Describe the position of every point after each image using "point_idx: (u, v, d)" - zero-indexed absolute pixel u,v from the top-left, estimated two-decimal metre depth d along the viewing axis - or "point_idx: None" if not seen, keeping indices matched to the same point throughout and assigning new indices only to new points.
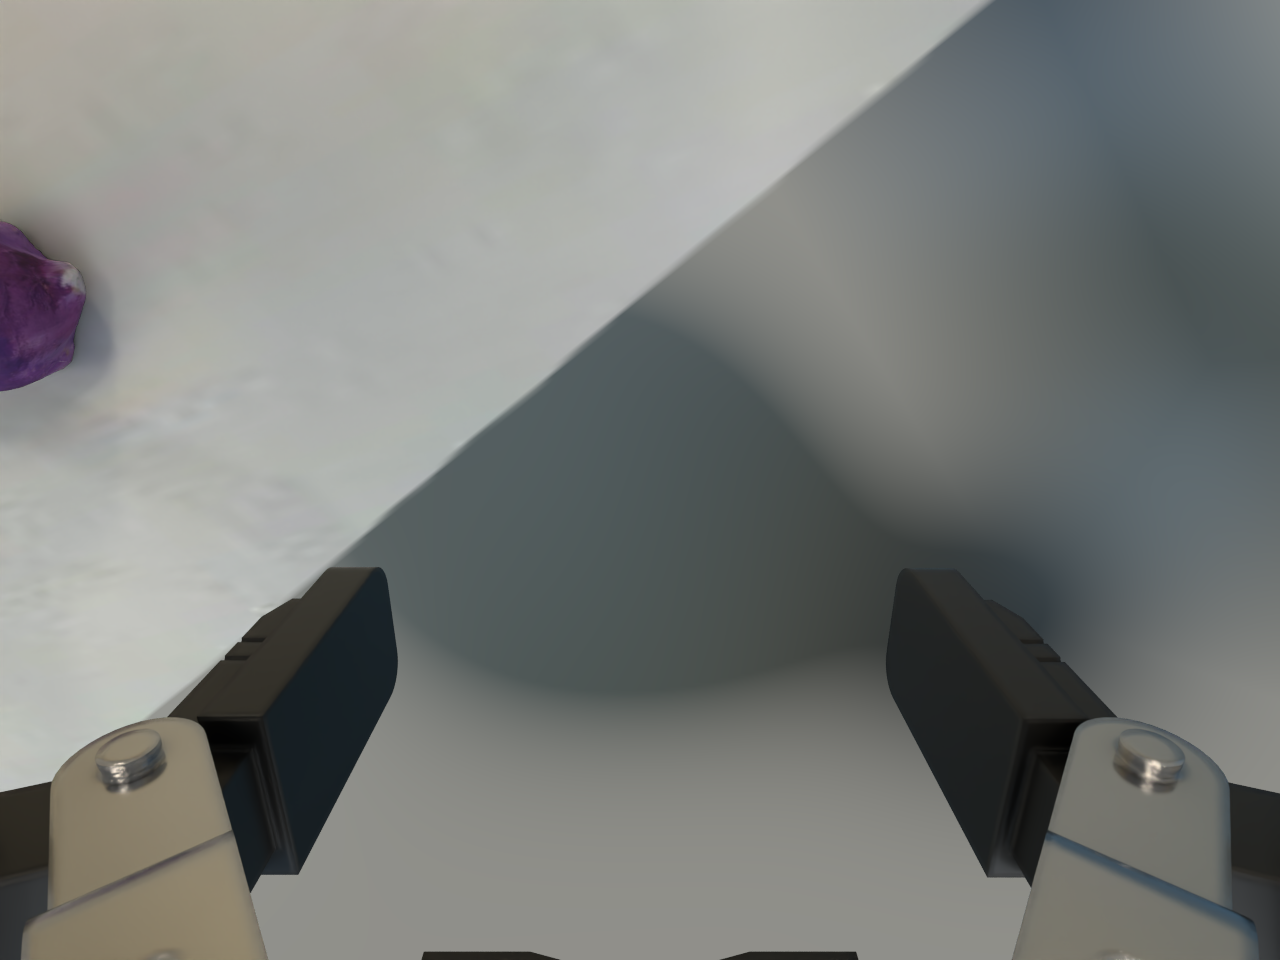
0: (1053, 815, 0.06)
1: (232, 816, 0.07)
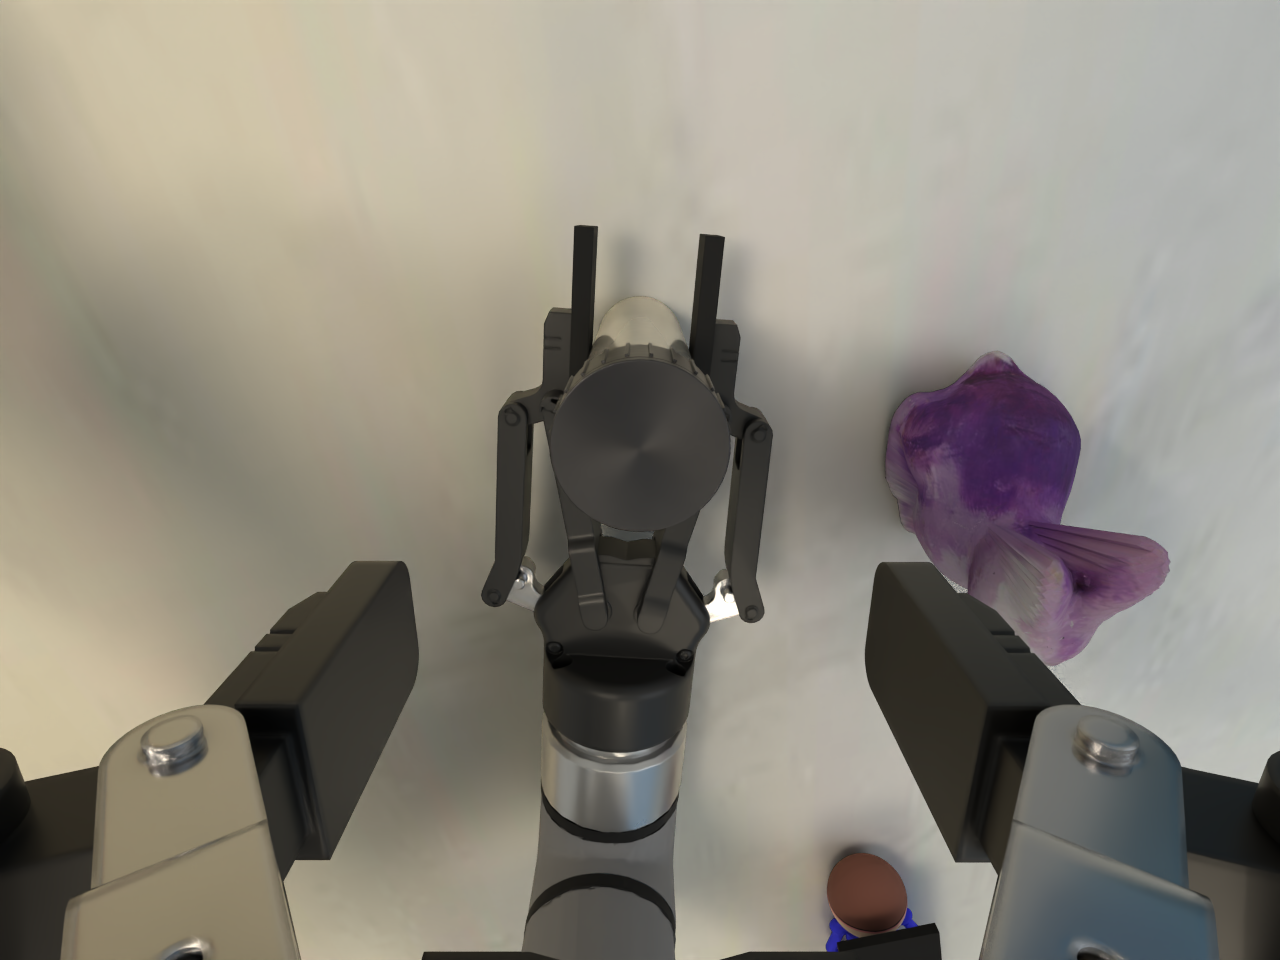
0: (1017, 804, 0.06)
1: (270, 801, 0.07)
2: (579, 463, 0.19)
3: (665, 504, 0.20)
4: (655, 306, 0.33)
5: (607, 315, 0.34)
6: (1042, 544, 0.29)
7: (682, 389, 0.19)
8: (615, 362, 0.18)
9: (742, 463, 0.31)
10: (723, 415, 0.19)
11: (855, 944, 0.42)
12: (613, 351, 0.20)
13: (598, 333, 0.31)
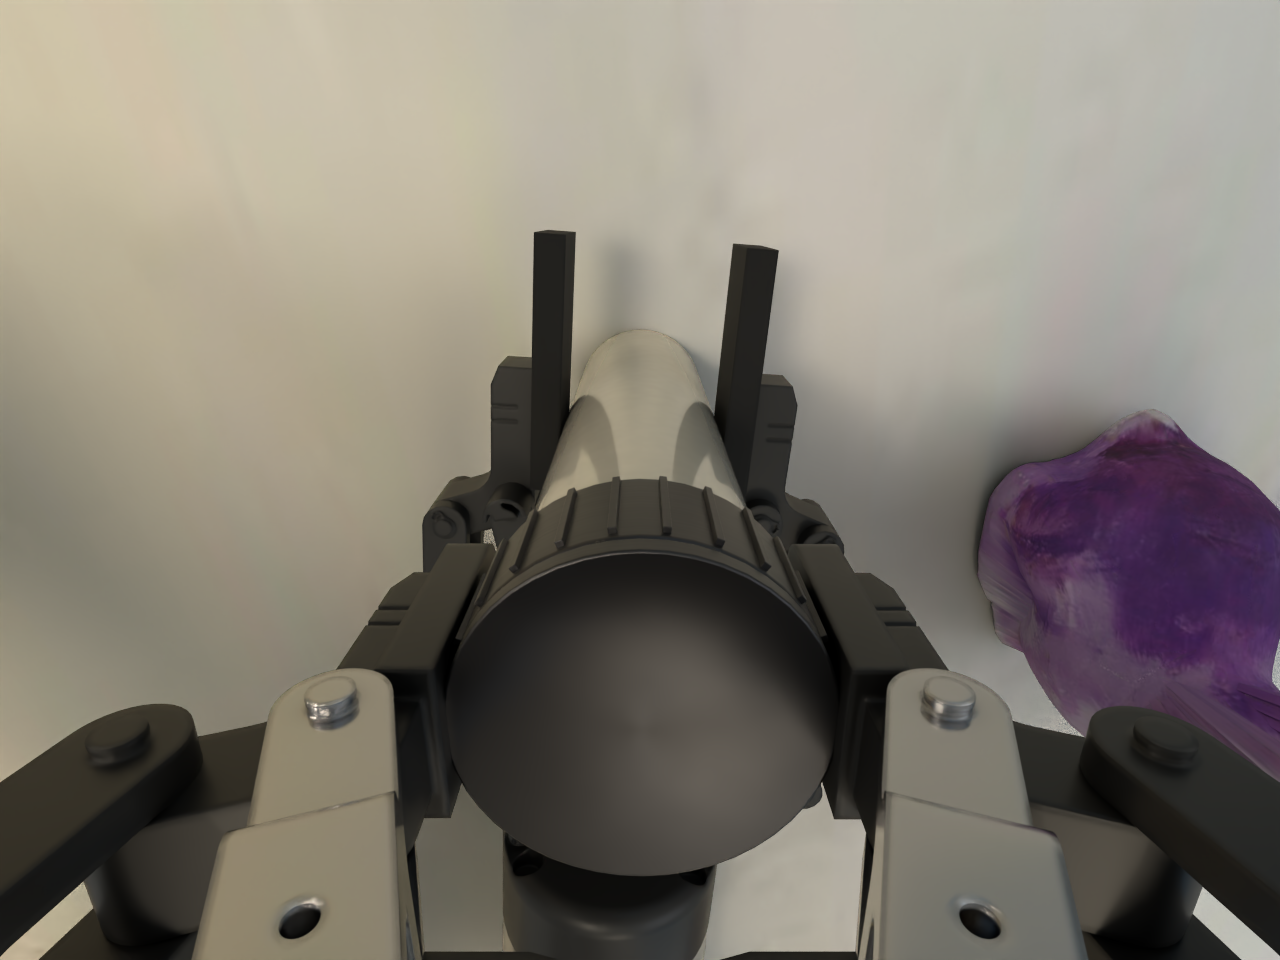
0: (884, 773, 0.06)
1: (410, 758, 0.08)
2: (509, 755, 0.09)
3: (695, 829, 0.09)
4: (663, 349, 0.22)
5: (593, 360, 0.23)
6: (1275, 734, 0.18)
7: (738, 613, 0.08)
8: (585, 555, 0.08)
9: None
10: (829, 664, 0.08)
11: None
12: (586, 499, 0.10)
13: (577, 394, 0.20)
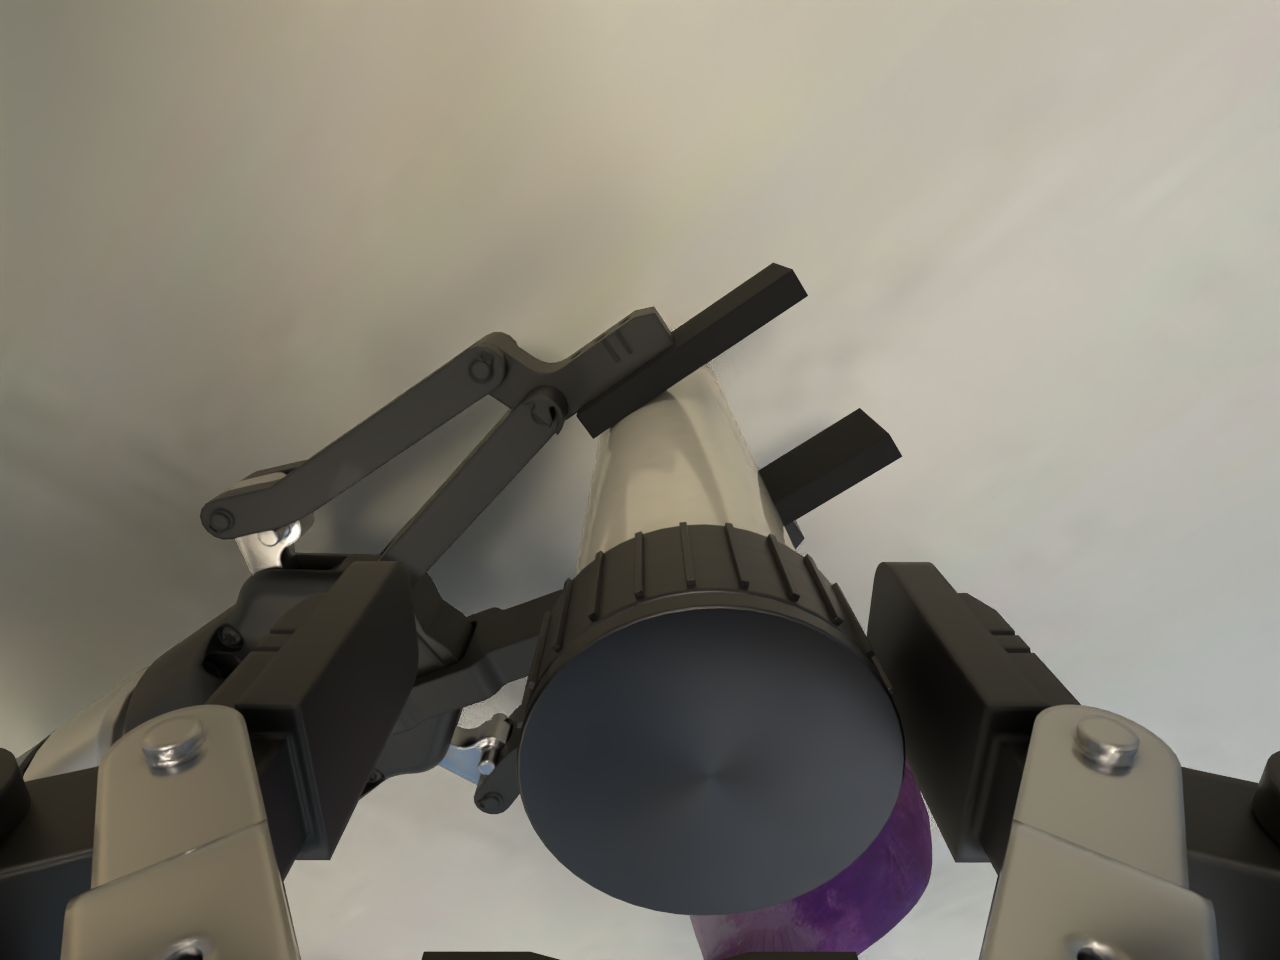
0: (1017, 804, 0.06)
1: (270, 801, 0.07)
2: (636, 860, 0.09)
3: (833, 818, 0.09)
4: None
5: None
6: None
7: (688, 642, 0.08)
8: (541, 688, 0.09)
9: None
10: (800, 624, 0.08)
11: None
12: (552, 619, 0.10)
13: None
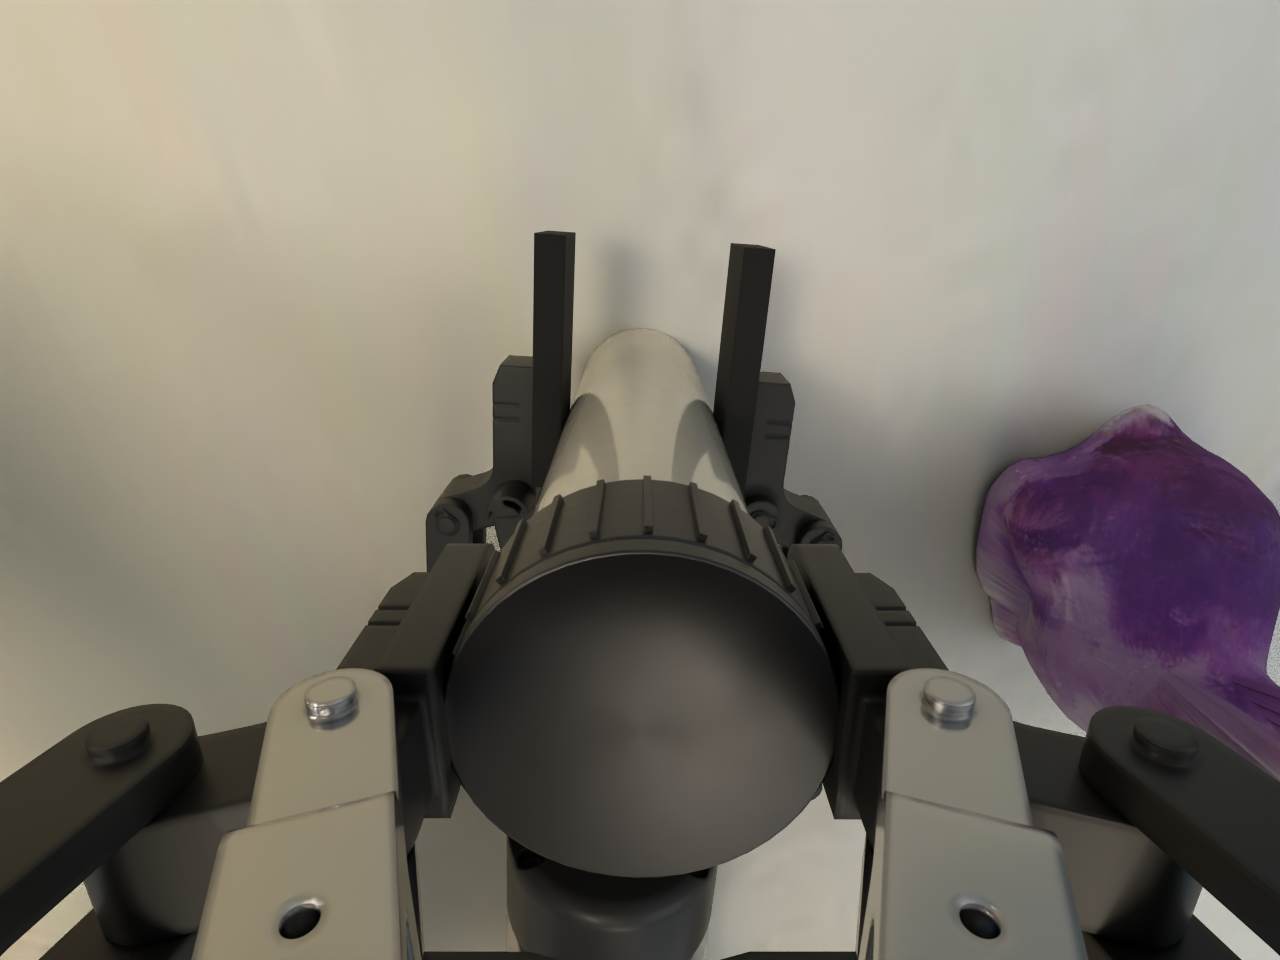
0: (883, 773, 0.06)
1: (410, 758, 0.08)
2: (682, 831, 0.09)
3: (770, 673, 0.08)
4: (662, 347, 0.22)
5: (593, 359, 0.23)
6: (1269, 724, 0.18)
7: (493, 665, 0.08)
8: (461, 782, 0.09)
9: None
10: (539, 577, 0.08)
11: None
12: None
13: (578, 393, 0.20)
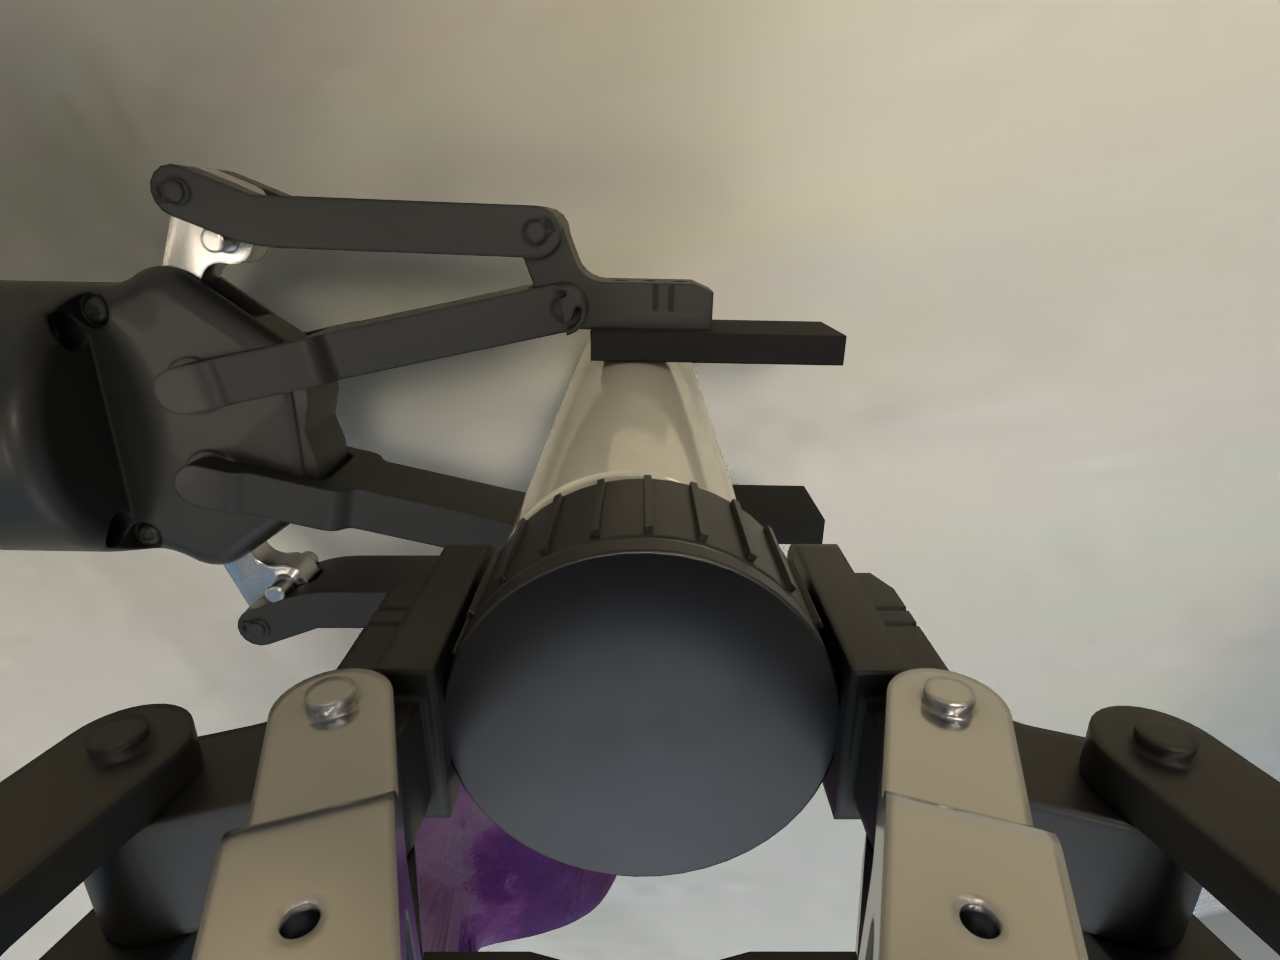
0: (883, 773, 0.06)
1: (410, 758, 0.08)
2: (682, 830, 0.09)
3: (771, 672, 0.08)
4: None
5: None
6: None
7: (493, 664, 0.08)
8: (461, 780, 0.09)
9: None
10: (539, 576, 0.08)
11: None
12: None
13: None
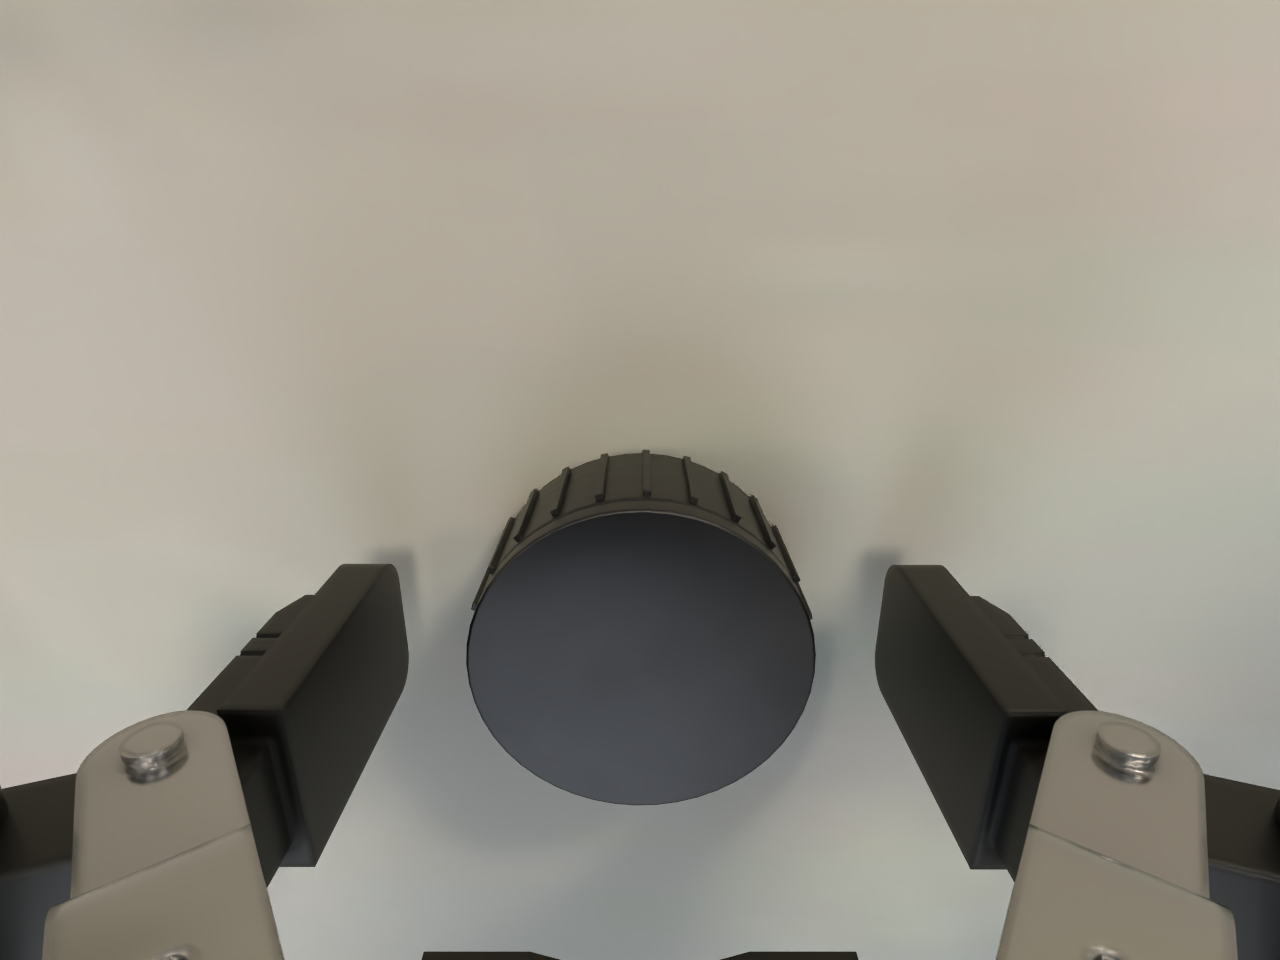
0: (1034, 809, 0.06)
1: (252, 807, 0.07)
2: (677, 762, 0.11)
3: (753, 618, 0.10)
4: None
5: None
6: None
7: (511, 611, 0.10)
8: (482, 717, 0.10)
9: None
10: (552, 533, 0.09)
11: None
12: None
13: None
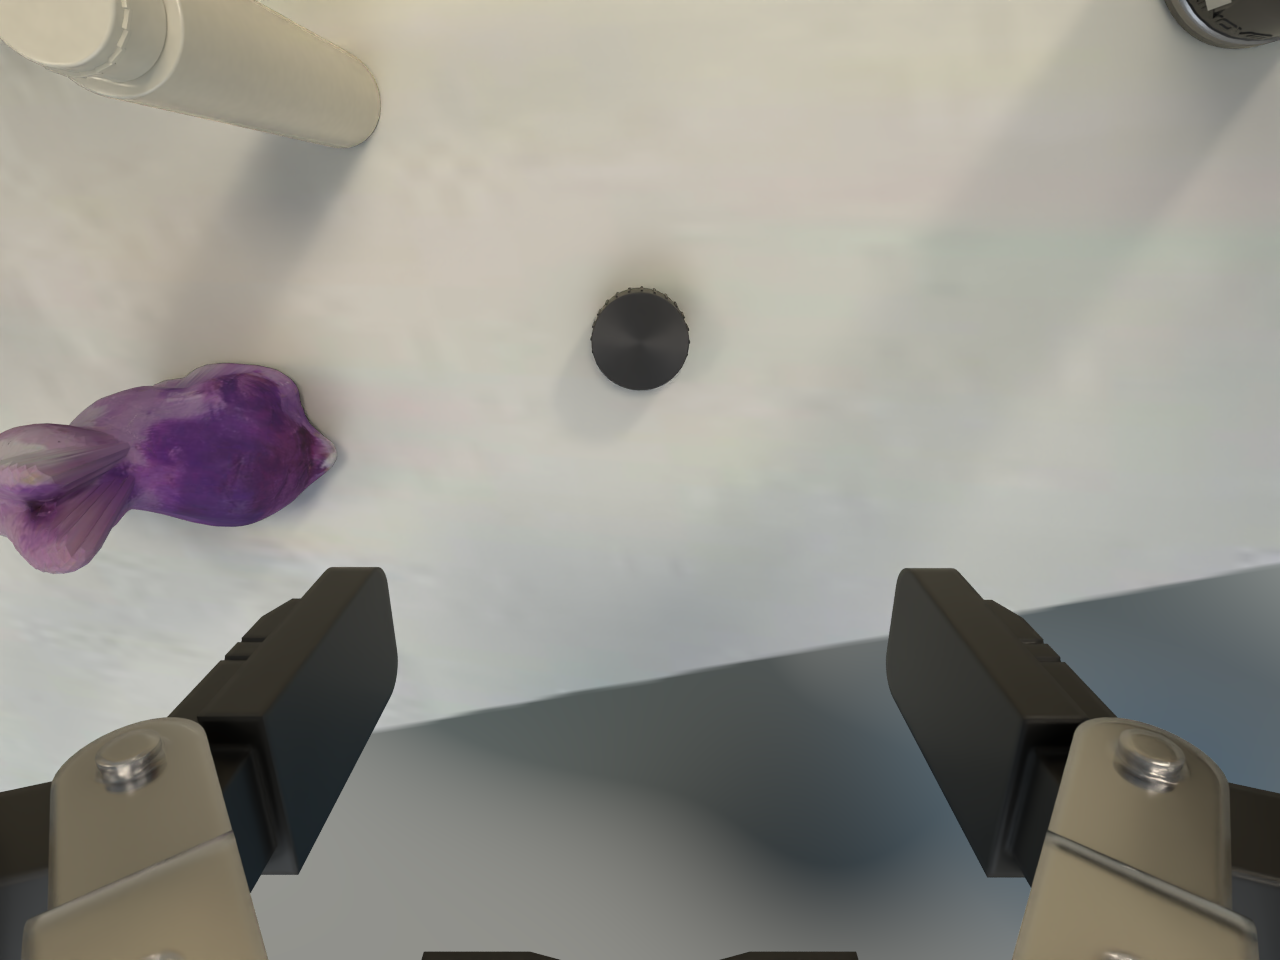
0: (1053, 815, 0.06)
1: (232, 816, 0.07)
2: (650, 374, 0.36)
3: (671, 325, 0.35)
4: (353, 110, 0.31)
5: (346, 54, 0.31)
6: (98, 483, 0.29)
7: (605, 323, 0.35)
8: (595, 359, 0.36)
9: None
10: (616, 299, 0.35)
11: None
12: None
13: (304, 28, 0.28)
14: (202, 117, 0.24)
